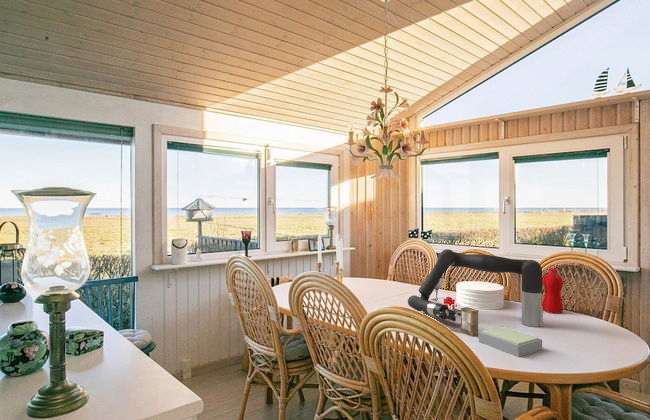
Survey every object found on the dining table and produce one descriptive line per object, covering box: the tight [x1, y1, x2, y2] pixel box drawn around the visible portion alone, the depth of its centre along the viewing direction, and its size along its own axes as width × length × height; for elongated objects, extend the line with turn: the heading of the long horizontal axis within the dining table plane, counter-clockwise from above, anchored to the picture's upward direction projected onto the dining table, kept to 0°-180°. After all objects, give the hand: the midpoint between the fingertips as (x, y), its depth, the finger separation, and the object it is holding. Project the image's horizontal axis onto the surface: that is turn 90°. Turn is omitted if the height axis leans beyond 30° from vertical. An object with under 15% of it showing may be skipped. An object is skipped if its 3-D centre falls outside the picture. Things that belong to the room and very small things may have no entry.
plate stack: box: [455, 280, 505, 310], centre depth 246 cm, size 28×28×12 cm
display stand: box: [478, 326, 543, 357], centre depth 173 cm, size 20×16×5 cm
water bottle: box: [542, 267, 564, 314], centre depth 226 cm, size 9×11×25 cm
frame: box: [460, 306, 479, 337], centre depth 189 cm, size 7×4×12 cm, turn 28°
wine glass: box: [430, 276, 444, 302], centre depth 255 cm, size 8×8×15 cm
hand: (461, 317), depth 194 cm, fingers open, 8 cm apart
